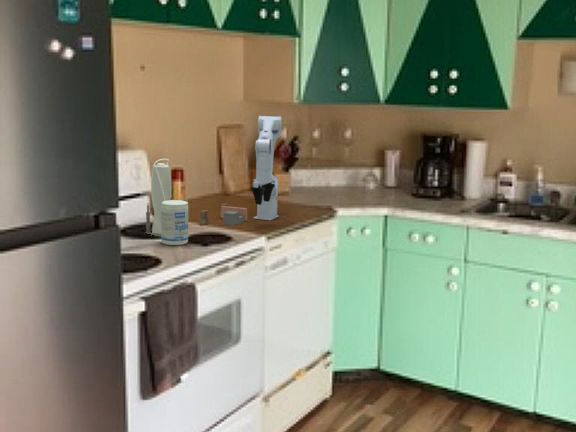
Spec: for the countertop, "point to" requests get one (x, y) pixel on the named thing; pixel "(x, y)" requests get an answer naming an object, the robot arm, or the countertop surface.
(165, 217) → the supplement tub
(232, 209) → the door
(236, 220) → the block
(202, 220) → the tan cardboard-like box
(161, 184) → the skyscraper
